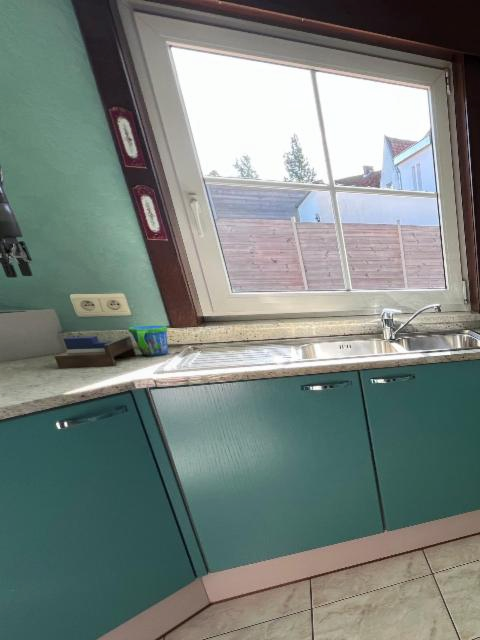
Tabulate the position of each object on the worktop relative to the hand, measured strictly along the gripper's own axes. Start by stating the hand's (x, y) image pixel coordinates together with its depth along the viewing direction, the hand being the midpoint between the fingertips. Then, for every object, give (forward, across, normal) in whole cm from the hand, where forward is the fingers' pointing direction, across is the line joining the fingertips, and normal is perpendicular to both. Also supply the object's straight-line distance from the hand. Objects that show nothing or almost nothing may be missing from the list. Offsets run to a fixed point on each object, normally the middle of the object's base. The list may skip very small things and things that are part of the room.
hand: (20, 276), depth 153 cm
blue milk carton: (+24, -2, +10) cm, 26 cm away
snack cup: (+28, -15, +23) cm, 39 cm away
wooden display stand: (+28, -5, +10) cm, 30 cm away
